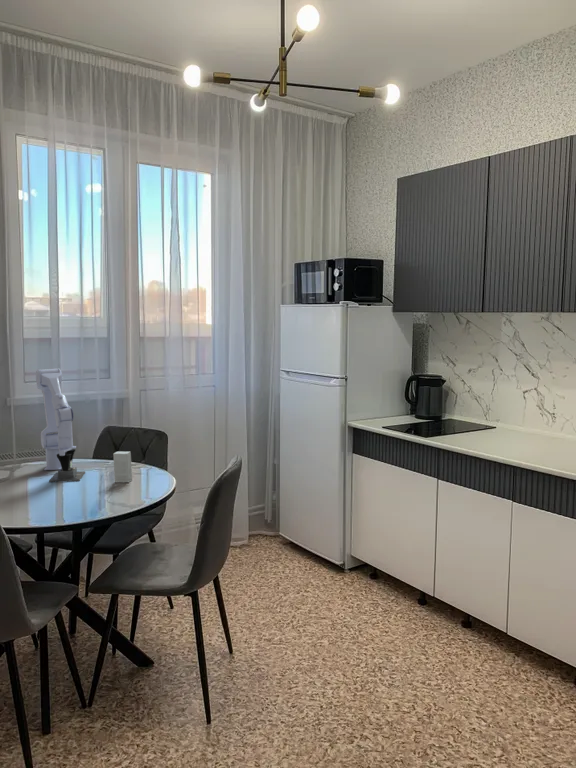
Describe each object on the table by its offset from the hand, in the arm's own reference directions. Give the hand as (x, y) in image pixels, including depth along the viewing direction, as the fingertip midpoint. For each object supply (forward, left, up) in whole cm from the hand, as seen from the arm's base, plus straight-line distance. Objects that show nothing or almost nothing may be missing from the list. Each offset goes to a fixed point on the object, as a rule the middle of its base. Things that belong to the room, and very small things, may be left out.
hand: (67, 468), depth 257 cm
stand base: (0, 0, -4) cm, 4 cm away
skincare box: (+9, +24, -4) cm, 26 cm away
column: (0, 0, -4) cm, 4 cm away
